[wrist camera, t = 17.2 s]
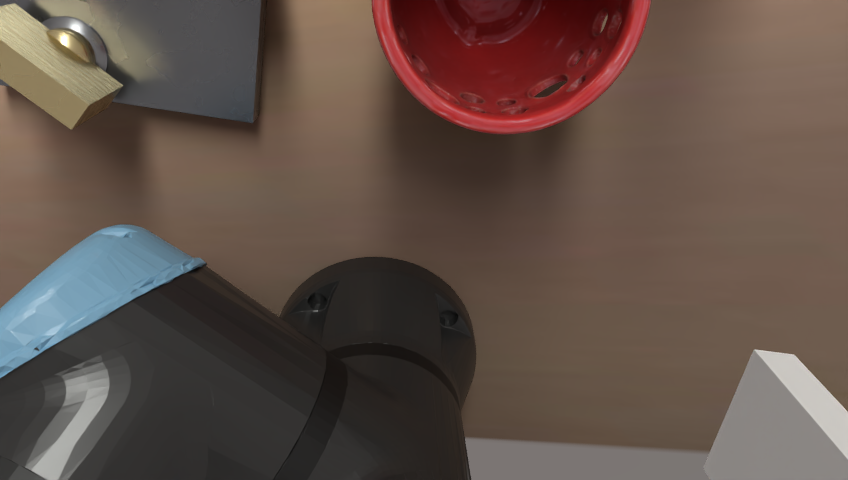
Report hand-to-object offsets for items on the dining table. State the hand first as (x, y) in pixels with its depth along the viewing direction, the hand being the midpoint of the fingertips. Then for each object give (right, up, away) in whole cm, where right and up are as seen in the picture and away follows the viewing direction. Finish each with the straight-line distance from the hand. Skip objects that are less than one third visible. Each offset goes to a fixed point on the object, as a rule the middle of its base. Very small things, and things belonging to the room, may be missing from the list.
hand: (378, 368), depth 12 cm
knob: (-20, +13, +29) cm, 38 cm away
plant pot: (+5, +18, +30) cm, 36 cm away
